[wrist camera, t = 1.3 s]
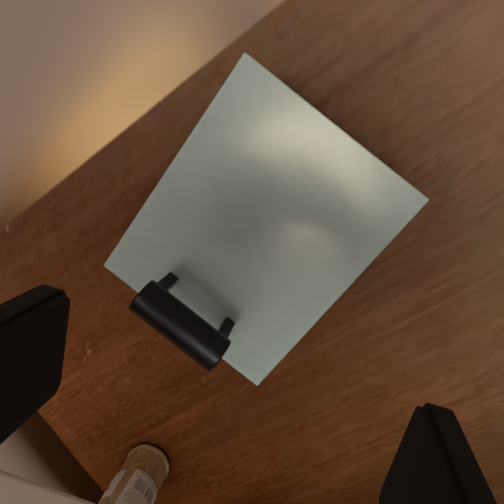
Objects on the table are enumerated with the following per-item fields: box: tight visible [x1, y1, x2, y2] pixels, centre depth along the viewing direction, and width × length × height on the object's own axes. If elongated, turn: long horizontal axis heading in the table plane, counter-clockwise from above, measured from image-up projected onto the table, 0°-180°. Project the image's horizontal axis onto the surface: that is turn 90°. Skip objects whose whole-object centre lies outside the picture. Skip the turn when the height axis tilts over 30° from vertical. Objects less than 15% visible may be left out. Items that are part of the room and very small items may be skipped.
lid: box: [104, 53, 429, 385], centre depth 22 cm, size 15×13×5 cm
